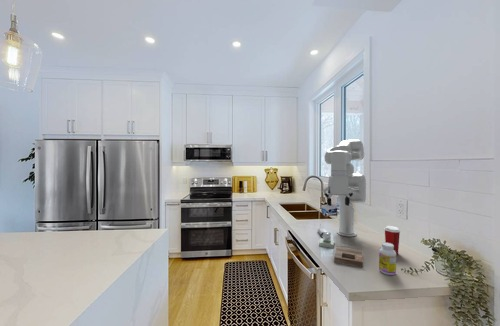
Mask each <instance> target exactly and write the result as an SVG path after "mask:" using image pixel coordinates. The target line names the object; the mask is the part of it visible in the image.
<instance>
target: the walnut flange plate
mask: <svg viewBox="0 0 500 326" xmlns="http://www.w3.org/2000/svg"><path fill="white" fill-rule="evenodd" d="M363 256H364V255H363V250H362V249H359V248H358V249H356V248H351V247H344V246H340V245H339V246H338V245H337V246H336V248H335V252H334V257H333V263H337V264H341V265H348V266H353V267H360V268H364V258H363Z"/></svg>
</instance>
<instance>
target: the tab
mask: <svg viewBox="0 0 500 326" xmlns="http://www.w3.org/2000/svg"><path fill="white" fill-rule="evenodd" d="M318 244H319V245H318V246H319V247H324V248H331V249H334V246H335V240H334V239H331V242H330V243H326V242H324V241H323V237H321V238H320V240H319V243H318Z"/></svg>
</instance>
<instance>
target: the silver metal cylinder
mask: <svg viewBox="0 0 500 326" xmlns="http://www.w3.org/2000/svg"><path fill="white" fill-rule="evenodd" d="M331 237H332V233H331V232H328V231H325V232H323V237H322V239H323V241H324V242H326V243H330V242H331V240H332V238H331Z"/></svg>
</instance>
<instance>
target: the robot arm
mask: <svg viewBox="0 0 500 326" xmlns="http://www.w3.org/2000/svg"><path fill="white" fill-rule="evenodd" d="M364 148H365V147H364V144H363V142H362V141H361V140H360V139H348V140H347V139H345V140H342V141H340V142H339V144H338V145H336V146H333V147H330V148H328V149H327V150H326V152H325V154H324V162H325V163H326V165H330V175H329V177H328V181H327V182H328V183H327V187H325V188H324V189H322V194H323V195H324V196H325V198H326V204H327V205H328V206H329V207H330V206H331V207H332V198H331V197H332V196H337V198H338V206H339V207H338V209H339V210H338V212H339V213H338V215H339V216H338V223H339V224H338V226H339V227H338V229H337V230H336V233H337V234H338V235H339V236H344V237H348V238H349V237H351V238H352V237H356V236H357V232H356V231H355V208H354V206H353V205H352V204H364V203H366V200H367V179H366V176H365V174H362V173H355V166H354V164H353V163H351V162H352V161H362V160H363V159H364V157H365V151H364V150H365V149H364ZM355 188H357V189H355Z"/></svg>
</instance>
